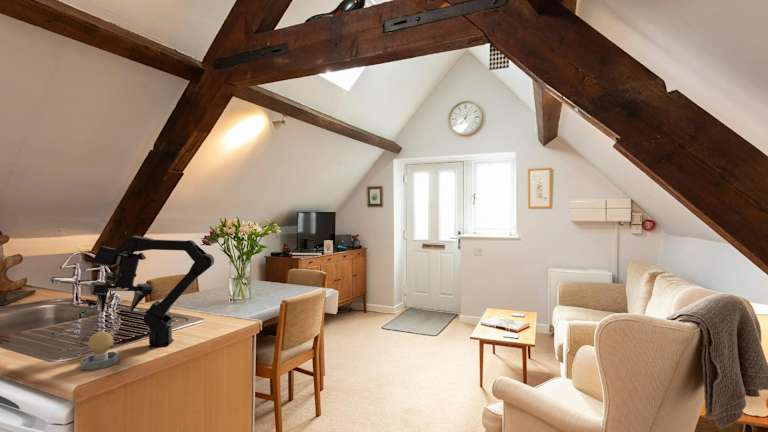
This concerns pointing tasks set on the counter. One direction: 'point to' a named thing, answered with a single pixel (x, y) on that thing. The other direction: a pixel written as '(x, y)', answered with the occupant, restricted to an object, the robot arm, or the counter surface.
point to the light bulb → (100, 345)
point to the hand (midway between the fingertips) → (116, 311)
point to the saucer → (91, 365)
